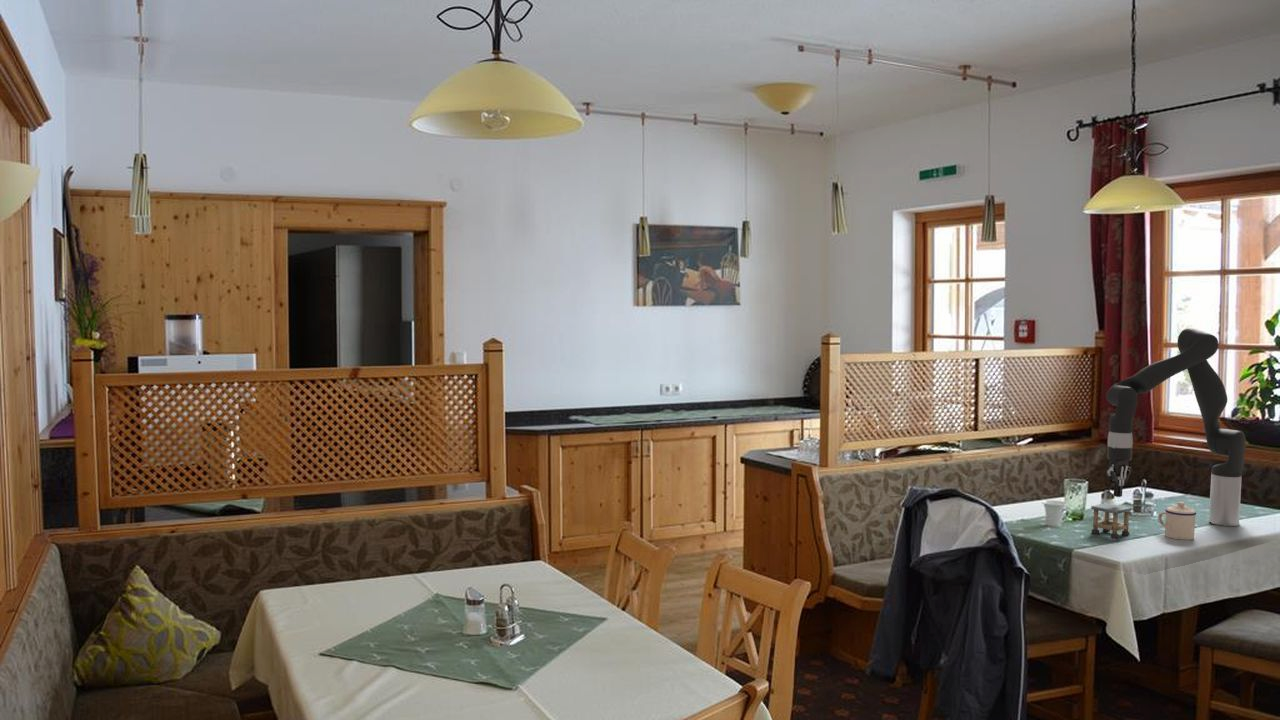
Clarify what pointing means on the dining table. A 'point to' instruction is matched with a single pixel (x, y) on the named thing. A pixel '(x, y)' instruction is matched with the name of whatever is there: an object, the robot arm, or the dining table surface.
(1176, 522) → the teacup with lid
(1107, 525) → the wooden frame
